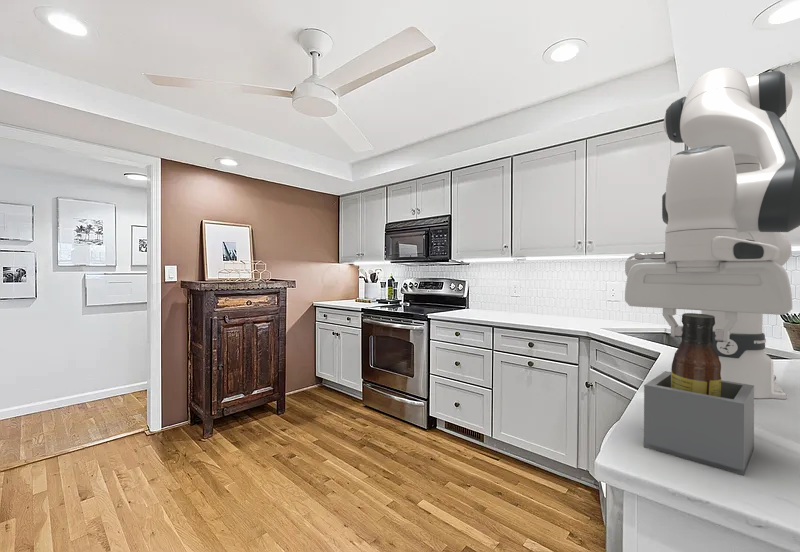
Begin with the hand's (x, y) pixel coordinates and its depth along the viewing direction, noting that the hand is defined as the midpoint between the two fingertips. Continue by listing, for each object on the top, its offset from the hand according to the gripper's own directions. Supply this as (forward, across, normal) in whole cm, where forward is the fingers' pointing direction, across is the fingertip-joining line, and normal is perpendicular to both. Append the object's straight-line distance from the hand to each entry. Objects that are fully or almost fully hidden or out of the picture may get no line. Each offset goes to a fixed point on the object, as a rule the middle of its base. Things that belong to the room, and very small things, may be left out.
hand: (699, 339), depth 59 cm
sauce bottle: (+16, -1, 0) cm, 16 cm away
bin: (+17, 0, 0) cm, 17 cm away
